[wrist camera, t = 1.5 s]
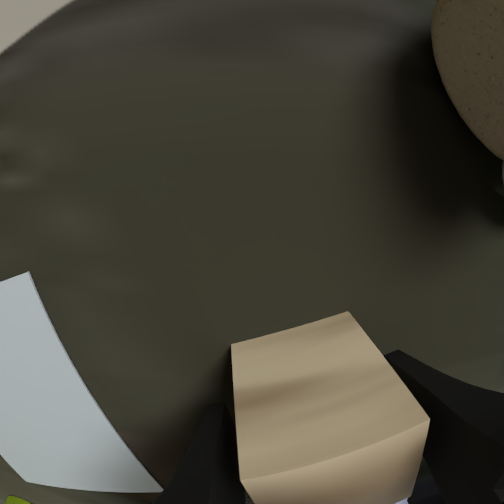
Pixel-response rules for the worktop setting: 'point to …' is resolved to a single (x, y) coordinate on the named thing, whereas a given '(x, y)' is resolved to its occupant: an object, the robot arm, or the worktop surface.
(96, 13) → the worktop surface
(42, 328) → the blue-grey mat
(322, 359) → the maple block
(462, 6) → the ceramic mug
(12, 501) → the soap dispenser
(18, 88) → the worktop surface
